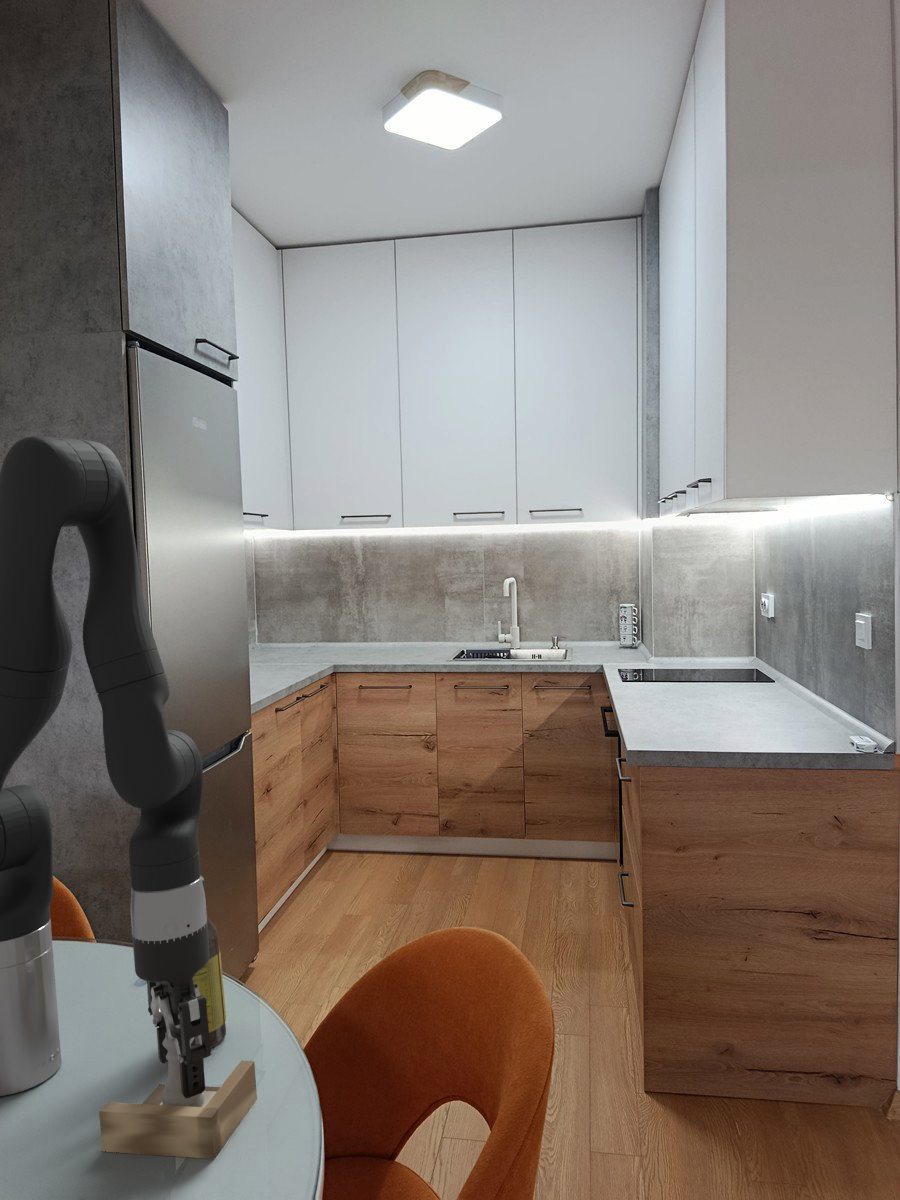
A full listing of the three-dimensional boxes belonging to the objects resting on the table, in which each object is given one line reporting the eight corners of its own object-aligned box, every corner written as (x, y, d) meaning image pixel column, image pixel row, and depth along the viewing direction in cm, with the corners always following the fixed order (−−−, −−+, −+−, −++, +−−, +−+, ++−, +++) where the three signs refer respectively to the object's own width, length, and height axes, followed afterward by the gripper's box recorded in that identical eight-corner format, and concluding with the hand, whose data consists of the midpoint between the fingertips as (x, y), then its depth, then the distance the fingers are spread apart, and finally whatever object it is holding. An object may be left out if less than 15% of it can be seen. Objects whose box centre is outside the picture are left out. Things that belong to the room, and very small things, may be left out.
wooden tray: (102, 1151, 85) (99, 1111, 84) (159, 1087, 95) (157, 1051, 95) (214, 1158, 82) (211, 1117, 82) (260, 1092, 93) (258, 1055, 93)
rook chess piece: (205, 1113, 89) (199, 1036, 89) (160, 1123, 88) (154, 1045, 88) (205, 1089, 93) (200, 1016, 93) (162, 1099, 92) (156, 1025, 92)
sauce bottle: (188, 1027, 109) (177, 870, 108) (235, 1027, 108) (223, 869, 107) (164, 1054, 102) (151, 888, 102) (213, 1055, 101) (200, 887, 101)
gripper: (227, 933, 86) (239, 1092, 87) (185, 896, 98) (196, 1037, 98) (151, 955, 82) (163, 1122, 82) (117, 914, 94) (128, 1061, 94)
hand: (181, 1076), depth 90 cm, fingers open, 8 cm apart
